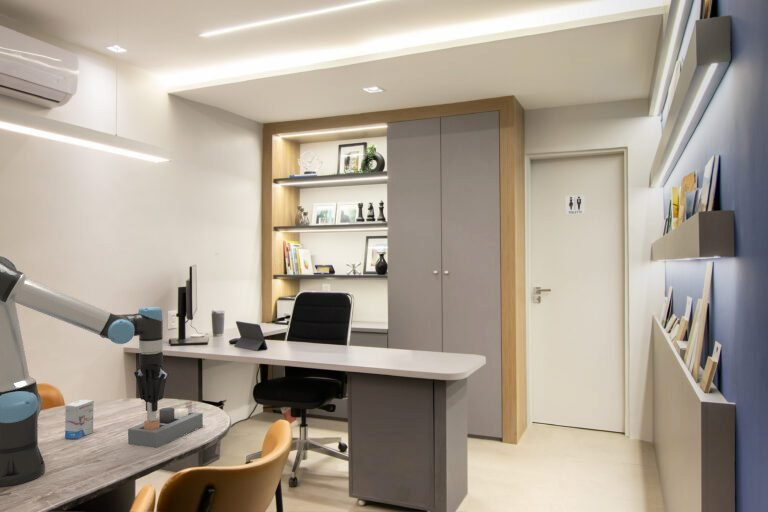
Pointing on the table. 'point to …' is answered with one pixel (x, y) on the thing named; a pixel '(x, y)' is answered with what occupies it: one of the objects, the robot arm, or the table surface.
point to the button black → (166, 415)
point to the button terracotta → (152, 424)
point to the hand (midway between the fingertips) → (151, 420)
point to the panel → (164, 431)
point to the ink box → (79, 419)
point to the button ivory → (181, 412)
